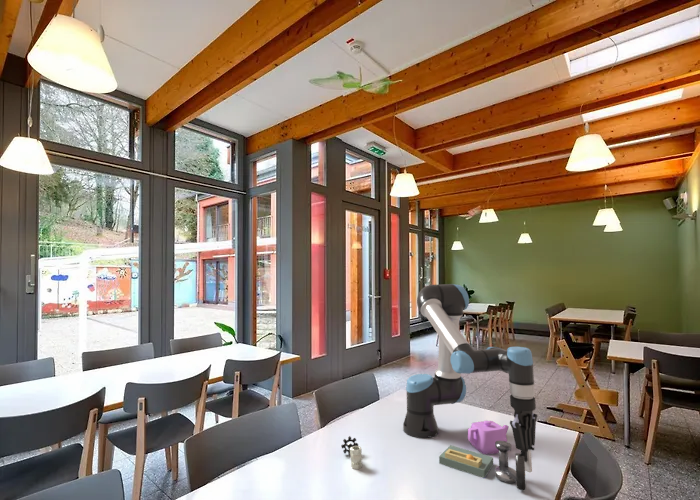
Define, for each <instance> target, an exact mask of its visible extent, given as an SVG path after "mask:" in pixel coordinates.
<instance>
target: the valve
mask: <svg viewBox="0 0 700 500" xmlns="http://www.w3.org/2000/svg"><path fill="white" fill-rule="evenodd" d="M342 441H343V444H341V449H343V451H342V452H343V454H347V453H348V455H349V456H350V462H351V463H350V464H351V465H350V467H351V469H353V470H359V469H362V468H363V467H362V461H363V454H362V447H361V446H359V443H357V438H356V437H354V438H352V436H351V435H349V436H348V437H347V439H346V438H343V440H342ZM352 443H353V444H352ZM346 447H347V448H346Z"/></svg>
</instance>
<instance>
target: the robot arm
mask: <svg viewBox="0 0 700 500" xmlns="http://www.w3.org/2000/svg"><path fill="white" fill-rule="evenodd" d="M469 298H470V297H469V294H468V291H467V290H466V289H465V287H464V286H462V285H460V284H454V283H451V284H450V283H449V284H448V283H447V284H428V285H426V286H424V287H422V288H421V290H420V291H419V292H418V294H417V299H416V304H417V305H416V306H417V309H418V311H419V312H420V314H421V315H422V316H423V317H425V318H427V320H428V321H429V323H430V324H431V325H432V327H433V329H434V330H435V331H436V332H435V333H437V335H438V358H437V359H438V367H437V369H436V370H435V371H434V376H432V375H431V374H428V373H418V374H414V375H411V376H409V377H408V378H407V380H406V388H405V390H406V391H405V392H406V414H405V417H404V420H403V424H402V425H403V427H402V429H403V430H402V431H403V433H405V434H407V435H408V436H411V437H414V438H419V439H420V438H422V439H425V438H432V437H435V436H437V435H438V432H439V426H438V423H437V421H436V417H435V413H434V406H443V405H453V404H457V403H458V404H459V403H461V402H463V400H464V399H465V397H466V394H467V384H466V382H465V379H464V378H463V377H462V374H463V375H464V374H465V375H466V374H467V375H468V374H476V373H485V372H486V373H487V372H502V373H506V374H508V382H509V383H508V385H509V394H510V395H509V397H510V398H509V400H510V402H509V404H510V406H511V408H512V409H513V410H514V414H513V417H514V419H513V420H510V421H509V425H510V427H511V430H512V433H513V434H512V435H513V439H514V444H515V448H516V449H517V450H518V451H519V450H520V454H523V455H524V459H525V472H527V473H532V472H533V462H532V451H535V447H534V446H535V445H536V444H535V443H536V430H537V429H536V428H537V427H536V426H537V425H536V423H537V418H538V414H537V413H535V412H534V411H536V407H537V406H536V398H535V396H536V391H535V380H534V379H535V378H534V376H535V375H534V374H535V373H534V360H533V359H534V358H533V352H532V351H531V349H530V348H528V347H525V346H524V347H523V346H510V347H508V348H507V349H504V348H500V347H499V346H498V347H497V346H496V347H495V346H488V347H487V348H485V349H474V348H473V346H472V345H471V344H470V343H469V342H468V340H467V339H466V338H465V336H464V335H463V334H462V332H461V331H460V318H462V317H463V315H464V311H465V310H467V309H468V308H469V306H470V305H469V304H470V299H469Z"/></svg>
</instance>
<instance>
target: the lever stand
mask: <svg viewBox="0 0 700 500" xmlns="http://www.w3.org/2000/svg"><path fill="white" fill-rule="evenodd" d="M438 459H439V460H438V463H439V465H442V466H445V467H449V468H452V469H454V470H458V471H462V472H464V473H468V474H471V475H472V476H477V477H480V478H483V479H485V478H486V476H487V475H488V473H490V470H491V469H492V467H493V466H494V457H493V456H490V455H488V454H482V453H481V452H476V451H472V450H469V449H465V448H462V447H458V446H455V445H451V444H450V445H449V446H448V447H447V448H445V450H444V451H443V452H442V453H441V454H440V455H439V456H438Z"/></svg>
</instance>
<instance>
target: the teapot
mask: <svg viewBox="0 0 700 500" xmlns="http://www.w3.org/2000/svg"><path fill="white" fill-rule="evenodd" d="M508 429H509V426H508V425H507V424H503V426H501V425H500V424H498V423H496V422H495V421H493V420H483V421H476V422H472V423H471V425H470V427H469V428H468V429H467V440H468V441H469V442H470V445H471V446H472V447H473V448H474V449H475V450H477V451H478V453H480V454H483V455H494V454H499V450H498V449H497V448H496V447H495V442H496V441H506V442H508V439H507V438H508V437H507V432H508Z"/></svg>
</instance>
